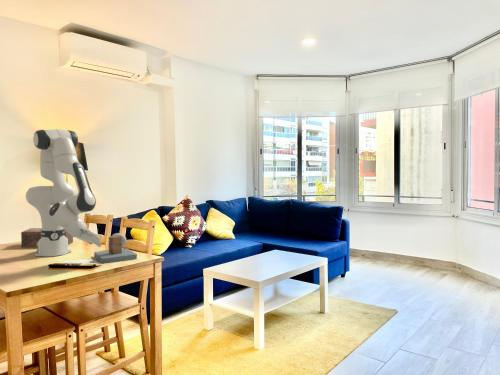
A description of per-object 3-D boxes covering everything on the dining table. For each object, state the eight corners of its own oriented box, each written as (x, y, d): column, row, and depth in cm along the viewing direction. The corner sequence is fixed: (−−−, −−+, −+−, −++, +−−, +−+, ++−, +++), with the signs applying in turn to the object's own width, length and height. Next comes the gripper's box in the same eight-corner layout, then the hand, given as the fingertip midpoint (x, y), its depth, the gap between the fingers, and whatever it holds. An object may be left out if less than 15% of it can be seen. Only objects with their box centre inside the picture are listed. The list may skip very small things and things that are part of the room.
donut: (109, 250, 230) (108, 234, 229) (109, 249, 233) (109, 233, 233) (126, 249, 233) (126, 233, 232) (126, 248, 236) (126, 232, 236)
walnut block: (108, 253, 212) (108, 236, 212) (117, 251, 216) (117, 235, 216) (113, 254, 209) (113, 238, 208) (121, 253, 213) (121, 236, 212)
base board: (94, 256, 215) (94, 252, 215) (126, 252, 225) (126, 248, 225) (102, 263, 200) (102, 258, 200) (136, 258, 210) (136, 254, 210)
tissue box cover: (73, 242, 255) (72, 227, 254) (66, 247, 241) (65, 231, 240) (31, 243, 251) (30, 228, 250) (21, 248, 236) (21, 232, 236)
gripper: (90, 225, 191) (109, 242, 199) (72, 221, 205) (91, 237, 212) (82, 235, 188) (101, 252, 196) (64, 230, 202) (83, 246, 209)
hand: (96, 244), depth 204 cm, fingers open, 8 cm apart
